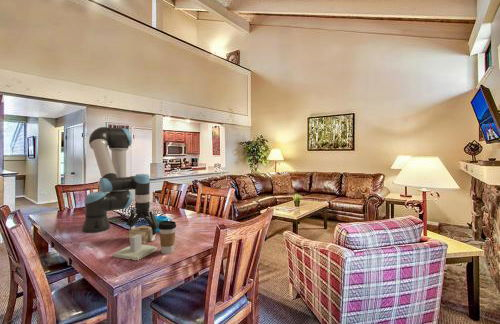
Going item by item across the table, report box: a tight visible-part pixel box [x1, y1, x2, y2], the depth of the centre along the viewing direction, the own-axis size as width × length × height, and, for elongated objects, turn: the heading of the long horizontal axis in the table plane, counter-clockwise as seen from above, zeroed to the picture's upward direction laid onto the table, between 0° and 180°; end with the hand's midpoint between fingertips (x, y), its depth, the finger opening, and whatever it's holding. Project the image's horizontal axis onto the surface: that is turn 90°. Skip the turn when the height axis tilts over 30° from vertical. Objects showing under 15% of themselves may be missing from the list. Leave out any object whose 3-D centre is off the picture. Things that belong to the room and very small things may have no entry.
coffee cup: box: [158, 220, 177, 255], centre depth 129 cm, size 8×8×15 cm
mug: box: [155, 215, 173, 233], centre depth 164 cm, size 12×8×8 cm
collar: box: [128, 225, 157, 244], centre depth 146 cm, size 10×10×6 cm
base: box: [113, 234, 158, 261], centre depth 127 cm, size 14×14×8 cm
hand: (142, 239), depth 146 cm, fingers open, 13 cm apart
